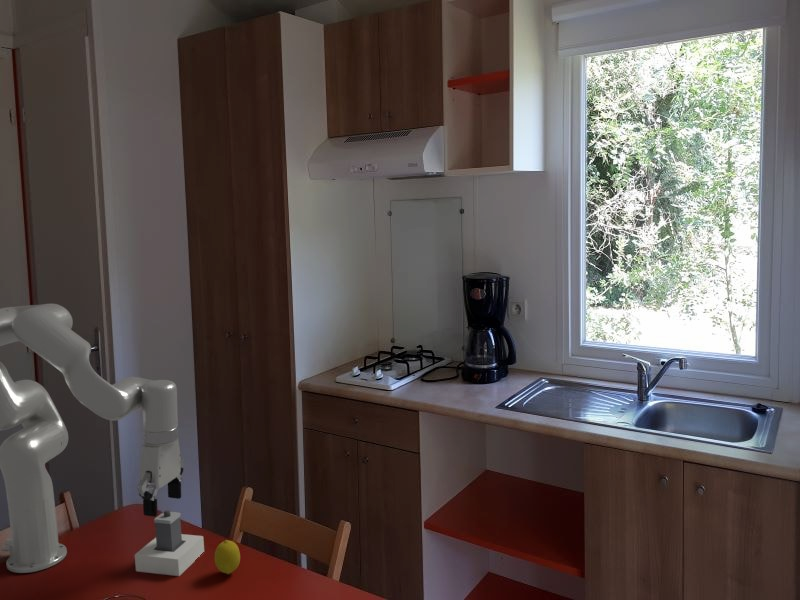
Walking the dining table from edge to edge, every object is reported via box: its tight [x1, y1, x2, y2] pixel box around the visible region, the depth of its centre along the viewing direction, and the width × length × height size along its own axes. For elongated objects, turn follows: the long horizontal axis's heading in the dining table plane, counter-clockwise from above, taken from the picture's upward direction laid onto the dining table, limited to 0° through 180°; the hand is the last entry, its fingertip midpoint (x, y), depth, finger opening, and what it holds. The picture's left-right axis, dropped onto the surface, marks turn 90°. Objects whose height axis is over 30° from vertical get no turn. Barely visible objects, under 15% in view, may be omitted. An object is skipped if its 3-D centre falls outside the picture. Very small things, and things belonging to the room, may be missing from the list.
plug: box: [153, 510, 182, 552], centre depth 158 cm, size 4×4×11 cm
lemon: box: [214, 539, 241, 575], centre depth 153 cm, size 6×6×8 cm
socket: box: [134, 533, 205, 577], centre depth 159 cm, size 11×11×4 cm
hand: (163, 506), depth 158 cm, fingers open, 9 cm apart
